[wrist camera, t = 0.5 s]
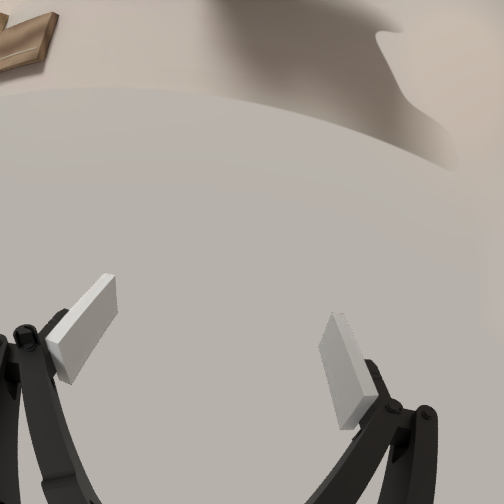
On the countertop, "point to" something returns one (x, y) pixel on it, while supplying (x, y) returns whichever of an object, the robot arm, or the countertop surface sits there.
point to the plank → (26, 41)
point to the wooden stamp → (3, 21)
